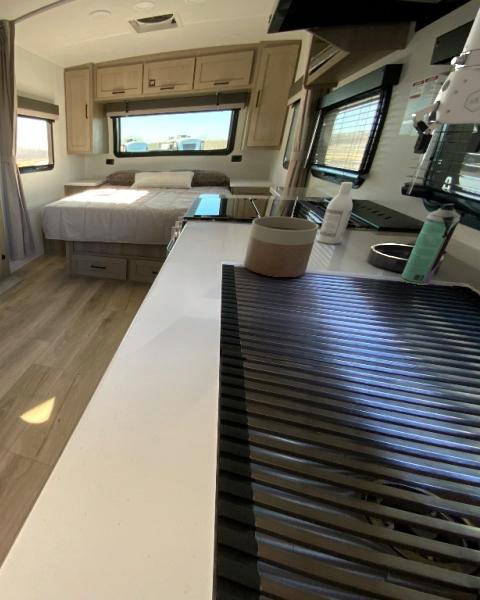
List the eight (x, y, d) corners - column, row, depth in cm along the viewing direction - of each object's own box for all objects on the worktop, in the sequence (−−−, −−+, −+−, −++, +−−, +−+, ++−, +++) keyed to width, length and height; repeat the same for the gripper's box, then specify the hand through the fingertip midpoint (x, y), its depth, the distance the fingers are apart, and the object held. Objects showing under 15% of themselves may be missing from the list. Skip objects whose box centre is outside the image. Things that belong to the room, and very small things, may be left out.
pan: (425, 259, 99) (431, 246, 98) (447, 278, 87) (454, 264, 85) (361, 253, 106) (366, 241, 104) (373, 270, 94) (379, 257, 92)
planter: (247, 277, 93) (257, 229, 87) (240, 258, 106) (248, 215, 100) (312, 282, 89) (327, 231, 82) (296, 261, 102) (308, 216, 96)
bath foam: (332, 238, 121) (350, 180, 112) (345, 244, 114) (366, 183, 105) (313, 239, 121) (329, 181, 112) (325, 244, 115) (344, 184, 106)
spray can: (434, 285, 84) (473, 205, 75) (412, 286, 84) (449, 206, 75) (415, 277, 89) (450, 201, 80) (394, 277, 89) (426, 202, 80)
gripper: (444, 62, 66) (409, 155, 74) (557, 53, 62) (507, 153, 70) (420, 67, 72) (390, 152, 80) (521, 60, 68) (479, 150, 76)
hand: (444, 152), depth 75 cm, fingers open, 9 cm apart
